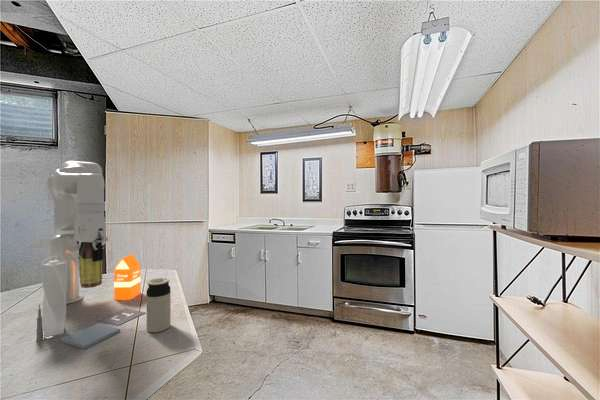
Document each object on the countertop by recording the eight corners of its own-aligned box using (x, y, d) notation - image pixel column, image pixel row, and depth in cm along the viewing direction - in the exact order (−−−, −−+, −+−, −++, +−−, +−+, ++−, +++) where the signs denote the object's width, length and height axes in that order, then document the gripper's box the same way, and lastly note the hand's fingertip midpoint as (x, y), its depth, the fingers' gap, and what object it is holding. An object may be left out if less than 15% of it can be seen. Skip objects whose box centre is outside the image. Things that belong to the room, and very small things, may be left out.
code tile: (96, 320, 107) (96, 319, 107) (125, 308, 119) (125, 308, 119) (118, 325, 103) (118, 324, 103) (145, 312, 115) (145, 312, 115)
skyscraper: (39, 332, 98) (39, 256, 98) (69, 326, 103) (68, 253, 103) (35, 342, 92) (35, 260, 91) (67, 335, 96) (66, 257, 96)
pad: (60, 342, 92) (60, 339, 92) (97, 326, 103) (97, 323, 103) (84, 348, 87) (84, 345, 87) (120, 331, 99) (120, 328, 99)
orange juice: (140, 293, 138) (140, 254, 138) (130, 299, 129) (130, 258, 129) (125, 293, 138) (125, 254, 137) (113, 299, 129) (113, 258, 129)
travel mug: (146, 335, 96) (146, 285, 96) (147, 325, 103) (146, 279, 103) (170, 330, 100) (170, 281, 100) (170, 321, 107) (170, 276, 107)
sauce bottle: (88, 283, 98) (87, 228, 98) (106, 282, 99) (106, 228, 98) (74, 289, 92) (74, 231, 91) (94, 288, 92) (93, 230, 92)
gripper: (62, 208, 94) (62, 260, 94) (96, 210, 88) (96, 264, 88) (85, 208, 101) (86, 255, 101) (118, 209, 95) (118, 259, 95)
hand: (91, 259), depth 95 cm, fingers closed on sauce bottle, 6 cm apart
